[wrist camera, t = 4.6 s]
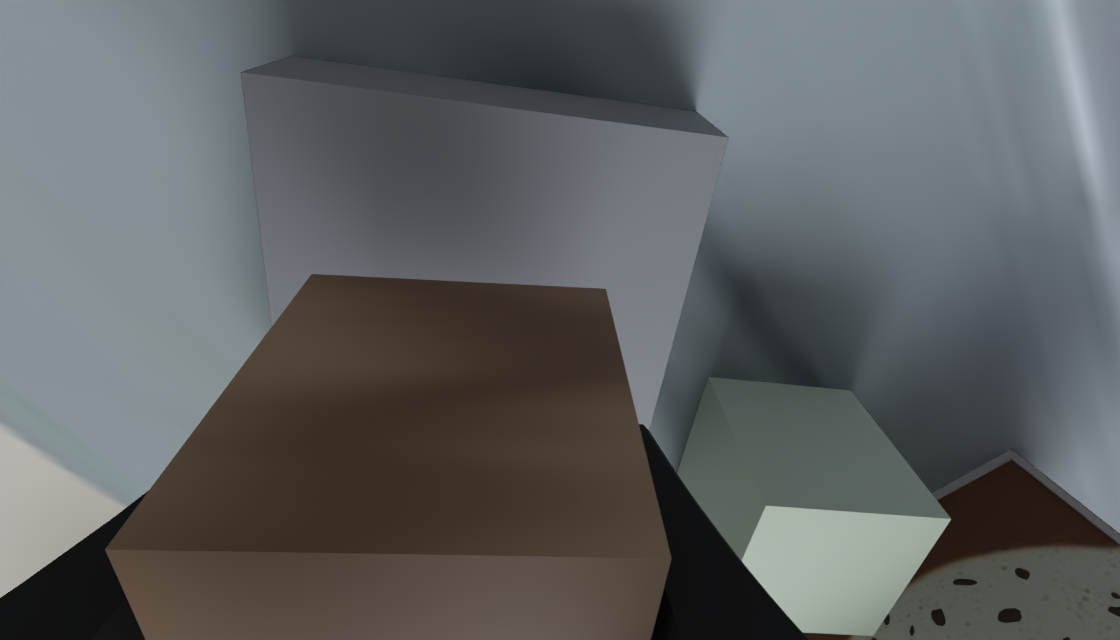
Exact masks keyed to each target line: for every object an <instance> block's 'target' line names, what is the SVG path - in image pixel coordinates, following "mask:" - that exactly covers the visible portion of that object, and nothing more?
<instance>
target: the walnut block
mask: <svg viewBox="0 0 1120 640" xmlns="http://www.w3.org/2000/svg"><path fill="white" fill-rule="evenodd" d="M105 551H106V553H107V555H108V557H109V560H110V562H111V564H112V566H113V569H114V571H115V573H116V575H117V577H118V580H119V582H120V584H121V586H122V589H123V591H124V593H125V595H126V597H127V600H128V602H129V604H130V606H131V609H132V611H133V613H134V615H135V617H136V620H137V622H138V624H139V626H140V629H141V631H142V633H143V635H144V637H145V640H651V637H652V633H653V629H654V625H655V621H656V617H657V613H658V610H659V606H660V602H661V598H662V594H663V590H664V586H665V582H666V578H667V574H668V571H669V567H670V563H671V559H672V558H671V554H670V550H669V546H668V542H667V538H666V533H665V529H664V525H663V521H662V517H661V513H660V509H659V505H658V501H657V497H656V492H655V488H654V484H653V480H652V476H651V472H650V468H649V464H648V460H647V455H646V451H645V447H644V443H643V439H642V435H641V431H640V427H639V423H638V419H637V414H636V410H635V406H634V402H633V398H632V394H631V390H630V386H629V382H628V378H627V373H626V369H625V365H624V361H623V357H622V353H621V349H620V345H619V341H618V337H617V332H616V328H615V324H614V320H613V316H612V312H611V308H610V304H609V300H608V296H607V291H606V289H601V288H581V287H561V286H541V285H521V284H502V283H482V282H462V281H442V280H422V279H403V278H383V277H363V276H343V275H323V274H311V275H310V277H309V278H308V279H307V281H306V282H305V283H304V285H303V286H302V287H301V289H300V290H299V291H298V293H297V294H296V295H295V297H294V298H293V299H292V301H291V302H290V303H289V305H288V306H287V307H286V309H285V310H284V311H283V313H282V314H281V315H280V317H279V318H278V319H277V321H276V322H275V323H274V325H273V326H272V327H271V329H270V330H269V331H268V333H267V334H266V335H265V337H264V338H263V339H262V341H261V342H260V343H259V345H258V346H257V347H256V349H255V350H254V351H253V353H252V354H251V355H250V357H249V358H248V359H247V361H246V362H245V363H244V365H243V366H242V367H241V369H240V370H239V371H238V373H237V374H236V375H235V377H234V378H233V379H232V381H231V382H230V383H229V385H228V386H227V387H226V389H225V390H224V391H223V393H222V394H221V395H220V397H219V398H218V399H217V401H216V402H215V403H214V405H213V406H212V407H211V409H210V410H209V411H208V413H207V414H206V415H205V417H204V418H203V419H202V421H201V422H200V423H199V425H198V426H197V427H196V429H195V430H194V431H193V433H192V434H191V435H190V437H189V438H188V439H187V441H186V442H185V443H184V445H183V446H182V447H181V449H180V450H179V451H178V453H177V454H176V455H175V457H174V458H173V459H172V461H171V462H170V463H169V465H168V466H167V467H166V469H165V470H164V471H163V473H162V474H161V475H160V477H159V478H158V479H157V481H156V482H155V483H154V485H153V486H152V487H151V489H150V490H149V491H148V493H147V494H146V495H145V497H144V498H143V499H142V501H141V502H140V503H139V505H138V506H137V507H136V509H135V510H134V511H133V513H132V514H131V515H130V517H129V518H128V519H127V521H126V522H125V523H124V525H123V526H122V527H121V529H120V530H119V531H118V533H117V534H116V535H115V537H114V538H113V539H112V541H111V542H110V543H109V545H108V546H107V547H106V549H105Z"/></svg>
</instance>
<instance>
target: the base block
mask: <svg viewBox="0 0 1120 640" xmlns="http://www.w3.org/2000/svg"><path fill="white" fill-rule="evenodd" d="M241 79H242V87H243V95H244V103H245V112H246V120H247V128H248V136H249V144H250V152H251V160H252V169H253V177H254V185H255V193H256V201H257V209H258V217H259V226H260V234H261V242H262V250H263V258H264V266H265V274H266V283H267V291H268V299H269V307H270V315H271V323H272V326H273V325H274V323H275V322H276V321H277V319H278V318H279V317H280V315H281V314H282V313H283V311H284V310H285V309H286V307H287V306H288V305H289V303H290V302H291V301H292V299H293V298H294V297H295V295H296V294H297V293H298V291H299V290H300V289H301V287H302V286H303V285H304V283H305V282H306V281H307V279H308V278H309V277H310V275H311V274H323V275H343V276H363V277H383V278H403V279H422V280H442V281H462V282H482V283H502V284H521V285H541V286H561V287H581V288H601V289H606V291H607V296H608V300H609V304H610V308H611V312H612V316H613V320H614V324H615V328H616V332H617V337H618V341H619V345H620V349H621V353H622V357H623V361H624V365H625V369H626V373H627V378H628V382H629V386H630V390H631V394H632V398H633V402H634V406H635V410H636V414H637V419H638V423H639V424H643V425H644V426H645V427H646V428H647V429H648V430H649V429H650V425H651V421H652V418H653V414H654V410H655V407H656V403H657V399H658V396H659V392H660V388H661V385H662V381H663V377H664V373H665V370H666V366H667V362H668V359H669V355H670V351H671V348H672V344H673V340H674V337H675V333H676V329H677V326H678V322H679V318H680V315H681V311H682V307H683V304H684V300H685V296H686V292H687V289H688V285H689V281H690V278H691V274H692V270H693V267H694V263H695V259H696V256H697V252H698V248H699V245H700V241H701V237H702V234H703V230H704V226H705V223H706V219H707V215H708V211H709V208H710V204H711V200H712V197H713V193H714V189H715V186H716V182H717V178H718V175H719V171H720V167H721V164H722V160H723V156H724V153H725V149H726V145H727V142H728V138H729V137H727V136H726V135H725V134H724V133H722V132H721V131H720V130H719V129H717V128H716V127H715V126H714V125H713V124H711V123H710V122H709V121H708V120H706V119H705V118H704V117H703V116H701V115H700V114H699V113H698V112H696V111H690V110H683V109H675V108H668V107H661V106H654V105H646V104H639V103H632V102H624V101H617V100H610V99H603V98H595V97H588V96H581V95H574V94H566V93H559V92H552V91H544V90H537V89H530V88H523V87H515V86H508V85H501V84H493V83H486V82H479V81H472V80H464V79H457V78H450V77H443V76H435V75H428V74H421V73H413V72H406V71H399V70H392V69H384V68H377V67H370V66H363V65H355V64H348V63H341V62H333V61H326V60H319V59H312V58H304V57H297V56H290V57H287V58H284V59H281V60H278V61H274V62H271V63H268V64H265V65H262V66H259V67H255V68H252V69H249V70H246V71H243V72H241Z"/></svg>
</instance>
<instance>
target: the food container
mask: <svg viewBox="0 0 1120 640" xmlns="http://www.w3.org/2000/svg"><path fill="white" fill-rule="evenodd" d="M931 494H932V495H933V496H934V497H935V499H936V500H937V501H938V503H939V504H940V505H941V506H942V508H943V509H944V510H945V512H946V513H947V514H948V515H949V517H950V518H951V520H950V522H949V523H948V525H947V526H946V528H945V529H944V531H943V532H942V534H941V535H940V537H939V538H938V540H937V541H936V543H935V544H934V546H933V547H932V549H931V550H930V552H929V553H928V555H927V556H926V558H925V559H924V561H923V562H922V564H921V565H920V567H919V568H918V570H917V571H916V573H915V574H914V576H913V577H912V579H911V580H910V582H909V583H908V585H907V586H906V588H905V589H904V591H903V592H902V594H901V595H900V597H899V598H898V600H897V601H896V603H895V604H894V606H893V607H892V609H891V610H890V612H889V613H888V615H887V616H886V618H885V619H884V621H883V622H882V624H881V625H880V627H879V628H878V630H877V631H876V633H875V634H874V635H873V636H864V635H843V634H823V633H803V634H804V635H805V636H806V637H807V638H808V639H809V640H1120V534H1119V533H1118V532H1117V531H1116V530H1114V529H1113V528H1112V527H1110V526H1109V525H1108V524H1107V523H1105V522H1104V521H1103V520H1102V519H1100V518H1099V517H1098V516H1096V515H1095V514H1094V513H1093V512H1091V511H1090V510H1089V509H1088V508H1086V507H1085V506H1084V505H1082V504H1081V503H1080V502H1079V501H1077V500H1076V499H1075V498H1073V497H1072V496H1071V495H1070V494H1068V493H1067V492H1066V491H1065V490H1063V489H1062V488H1061V487H1059V486H1058V485H1057V484H1056V483H1054V482H1053V481H1052V480H1051V479H1049V478H1048V477H1047V476H1045V475H1044V474H1043V473H1042V472H1040V471H1039V470H1038V469H1037V468H1035V467H1034V466H1033V465H1031V464H1030V463H1029V462H1028V461H1026V460H1025V459H1024V458H1022V457H1021V456H1020V455H1019V454H1017V453H1016V452H1015V451H1014V450H1012V449H1010V450H1009V451H1007V452H1005V453H1003V454H1001V455H1000V456H998V457H996V458H994V459H992V460H990V461H989V462H987V463H985V464H983V465H981V466H980V467H978V468H976V469H974V470H972V471H970V472H969V473H967V474H965V475H963V476H961V477H960V478H958V479H956V480H954V481H952V482H951V483H949V484H947V485H945V486H943V487H941V488H940V489H938V490H936V491H934V492H932V493H931Z"/></svg>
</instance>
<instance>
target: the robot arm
mask: <svg viewBox="0 0 1120 640" xmlns="http://www.w3.org/2000/svg"><path fill="white" fill-rule="evenodd" d="M639 427H640V431H641V435H642V439H643V443H644V447H645V451H646V455H647V460H648V464H649V468H650V472H651V476H652V480H653V484H654V488H655V492H656V497H657V501H658V505H659V509H660V513H661V517H662V521H663V525H664V529H665V533H666V538H667V542H668V546H669V550H670V554H671V558H672V559H671V563H670V567H669V571H668V574H667V578H666V582H665V586H664V590H663V594H662V598H661V602H660V606H659V610H658V613H657V617H656V621H655V625H654V629H653V633H652V637H651V640H809V639H808V638H807V637H806V636H805V635H804V634H803V632H802V631H801V630H800V629H799V628H798V627H797V626H796V625H795V624H794V622H793V621H792V620H791V619H790V618H789V617H788V616H787V615H786V613H785V612H784V611H783V610H782V609H781V608H780V607H779V605H778V604H777V603H776V602H775V601H774V600H773V598H772V597H771V596H770V595H769V594H768V592H767V591H766V590H765V589H764V588H763V586H762V585H761V584H760V583H759V582H758V580H757V579H756V578H755V577H754V576H753V574H752V573H751V572H750V571H749V570H748V568H747V567H746V566H745V565H744V563H743V562H742V561H741V560H740V558H739V557H738V556H737V555H736V553H735V552H734V551H733V550H732V548H731V547H730V546H729V544H728V543H727V542H726V540H725V539H724V538H723V536H722V535H721V534H720V532H719V531H718V530H717V529H716V527H715V526H714V525H713V523H712V522H711V521H710V519H709V518H708V517H707V515H706V514H705V513H704V511H703V510H702V509H701V507H700V506H699V504H698V503H697V502H696V500H695V499H694V497H693V496H692V495H691V493H690V492H689V490H688V489H687V487H686V486H685V484H684V483H683V482H682V480H681V479H680V477H679V476H678V474H677V473H676V471H675V470H674V468H673V467H672V465H671V464H670V462H669V461H668V459H667V458H666V456H665V455H664V453H663V452H662V450H661V449H660V447H659V446H658V444H657V442H656V441H655V439H654V438H653V436H652V435H651V433H650V431H649V430H648V429H647V428H646V427H645V426H644V425H643V424H639ZM147 493H148V492H146V493H145V494H144V495H142V496H141V497H140V498H138V499H137V500H136V501H135V502H133V503H132V504H131V505H129V506H128V507H127V508H125V509H124V510H123V511H122V512H120V513H119V514H118V515H117V516H115V517H114V518H112V519H111V520H110V521H108V522H107V523H106V524H104V525H103V526H101V527H100V528H99V529H97V530H96V531H94V532H93V533H92V534H90V535H89V536H87V537H86V538H85V539H83V540H82V541H80V542H79V543H78V544H76V545H75V546H74V547H72V548H71V549H69V550H68V551H67V552H65V553H64V554H62V555H61V556H59V557H58V558H57V559H55V560H54V561H52V562H51V563H50V564H48V565H47V566H45V567H44V568H43V569H41V570H40V571H38V572H37V573H36V574H34V575H33V576H31V577H30V578H29V579H27V580H26V581H25V582H23V583H22V584H20V585H19V586H17V587H16V588H14V589H13V590H11V591H10V592H8V593H7V594H6V595H4V596H3V597H1V598H0V640H145V637H144V635H143V633H142V631H141V629H140V626H139V624H138V622H137V620H136V617H135V615H134V613H133V611H132V609H131V606H130V604H129V602H128V600H127V597H126V595H125V593H124V591H123V589H122V586H121V584H120V582H119V580H118V577H117V575H116V573H115V571H114V569H113V566H112V564H111V562H110V560H109V557H108V555H107V553H106V551H105V549H106V547H107V546H108V545H109V543H110V542H111V541H112V539H113V538H114V537H115V535H116V534H117V533H118V531H119V530H120V529H121V527H122V526H123V525H124V523H125V522H126V521H127V519H128V518H129V517H130V515H131V514H132V513H133V511H134V510H135V509H136V507H137V506H138V505H139V503H140V502H141V501H142V499H143V498H144V497H145V495H146V494H147Z"/></svg>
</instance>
